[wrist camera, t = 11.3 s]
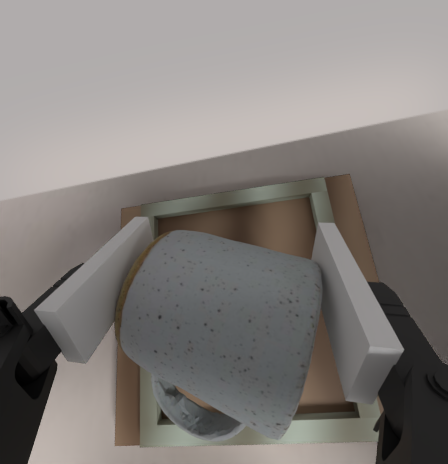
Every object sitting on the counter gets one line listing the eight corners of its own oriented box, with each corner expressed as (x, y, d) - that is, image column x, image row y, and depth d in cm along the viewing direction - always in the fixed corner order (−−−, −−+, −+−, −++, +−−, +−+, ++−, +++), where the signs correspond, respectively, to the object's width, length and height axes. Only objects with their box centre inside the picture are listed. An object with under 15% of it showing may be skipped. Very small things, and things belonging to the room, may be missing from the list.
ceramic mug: (190, 238, 17) (137, 198, 9) (304, 269, 15) (346, 251, 8) (138, 392, 15) (19, 494, 7) (262, 449, 13) (267, 654, 6)
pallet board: (343, 182, 20) (353, 168, 18) (406, 424, 15) (431, 446, 13) (130, 213, 22) (116, 205, 20) (126, 433, 18) (107, 453, 15)
